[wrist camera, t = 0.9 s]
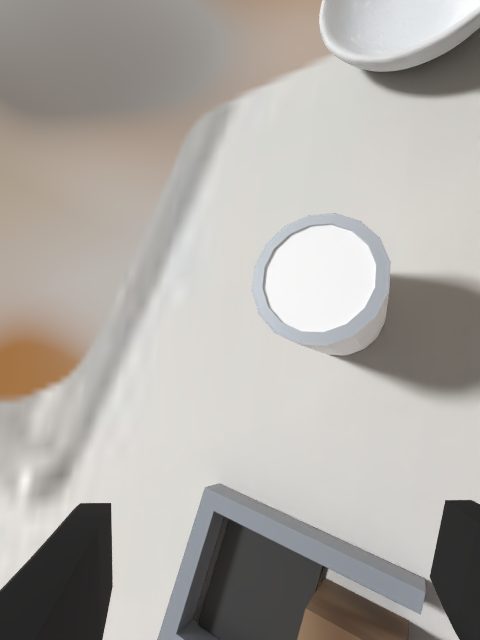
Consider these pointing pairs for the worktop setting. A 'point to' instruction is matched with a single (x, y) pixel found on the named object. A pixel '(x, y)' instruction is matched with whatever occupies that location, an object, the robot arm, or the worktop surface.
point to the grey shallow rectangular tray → (266, 572)
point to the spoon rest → (395, 30)
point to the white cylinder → (324, 284)
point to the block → (348, 617)
